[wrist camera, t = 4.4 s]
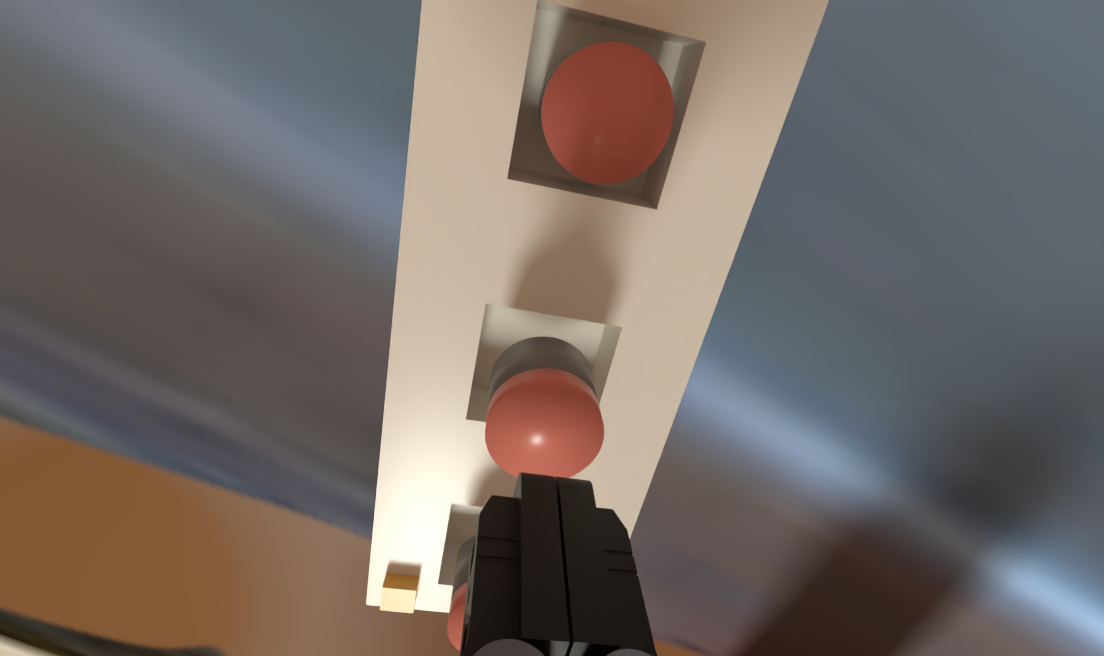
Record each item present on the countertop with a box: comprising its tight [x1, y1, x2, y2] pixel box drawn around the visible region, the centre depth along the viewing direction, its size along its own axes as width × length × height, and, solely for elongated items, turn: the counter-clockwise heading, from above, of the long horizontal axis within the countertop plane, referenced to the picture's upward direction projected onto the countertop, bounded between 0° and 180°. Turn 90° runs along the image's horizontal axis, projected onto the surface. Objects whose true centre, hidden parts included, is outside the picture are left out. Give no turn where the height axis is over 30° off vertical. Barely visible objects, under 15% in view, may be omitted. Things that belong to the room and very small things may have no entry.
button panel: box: [366, 0, 829, 613], centre depth 17 cm, size 9×26×5 cm, turn 168°
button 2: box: [485, 336, 604, 478], centre depth 15 cm, size 3×3×3 cm
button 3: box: [447, 536, 475, 651], centre depth 18 cm, size 3×3×3 cm
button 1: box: [539, 42, 674, 184], centre depth 13 cm, size 3×3×3 cm
